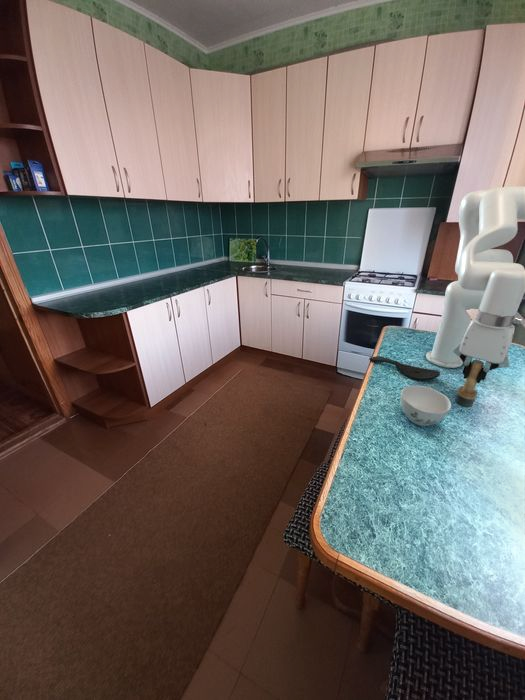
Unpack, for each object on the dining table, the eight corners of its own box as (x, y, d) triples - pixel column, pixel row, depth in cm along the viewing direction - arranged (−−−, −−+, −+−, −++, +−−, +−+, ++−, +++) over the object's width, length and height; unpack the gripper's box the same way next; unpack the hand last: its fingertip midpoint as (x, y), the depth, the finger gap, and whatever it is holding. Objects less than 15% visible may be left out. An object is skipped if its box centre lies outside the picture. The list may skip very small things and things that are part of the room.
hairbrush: (374, 349, 118) (443, 366, 103) (373, 357, 120) (441, 375, 104) (365, 357, 113) (437, 376, 97) (364, 365, 115) (435, 385, 99)
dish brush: (453, 396, 89) (467, 356, 82) (471, 400, 87) (486, 359, 81) (455, 405, 85) (469, 364, 79) (473, 409, 83) (490, 367, 77)
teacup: (439, 441, 77) (447, 418, 73) (390, 422, 84) (396, 400, 80) (448, 412, 87) (456, 390, 84) (404, 397, 94) (409, 376, 91)
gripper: (537, 322, 71) (509, 384, 80) (462, 307, 81) (444, 364, 90) (534, 331, 66) (505, 396, 75) (454, 314, 77) (436, 373, 85)
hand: (472, 378), depth 82 cm, fingers closed on dish brush, 2 cm apart
